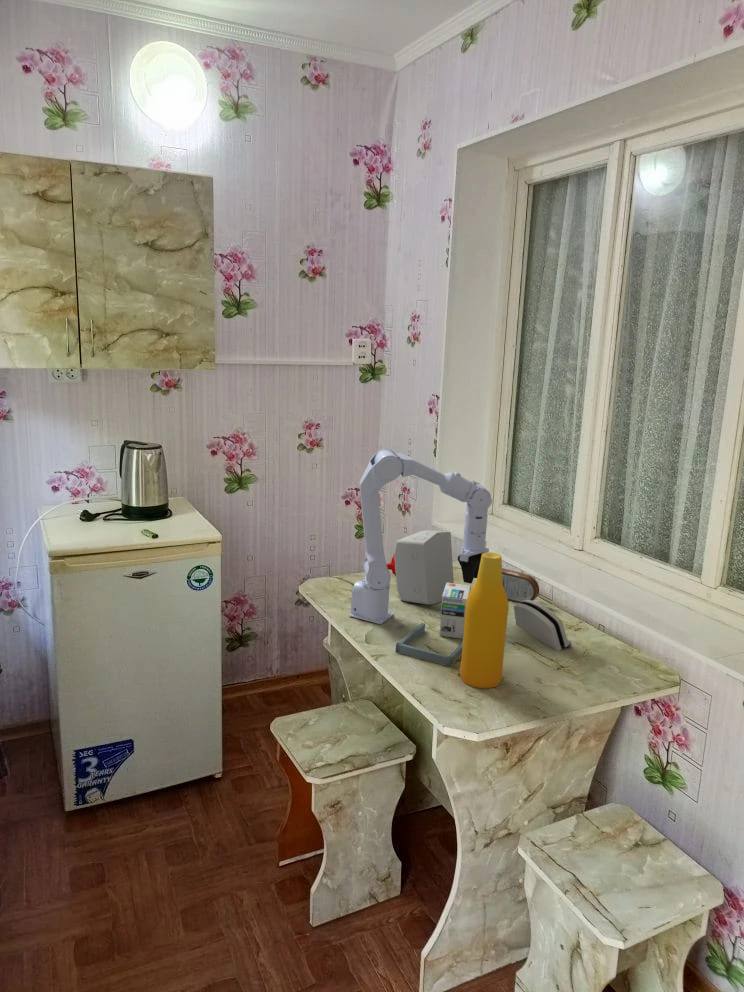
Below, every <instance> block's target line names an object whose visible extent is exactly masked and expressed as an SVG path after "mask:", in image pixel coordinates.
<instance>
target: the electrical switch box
mask: <svg viewBox="0 0 744 992" xmlns="http://www.w3.org/2000/svg"><path fill="white" fill-rule="evenodd" d="M452 547H453V545H452V533H451V531H445V530H444V531H441V530H428V529H427V530H420V531H418V532H415V533H413V534H411V535H408V536H405V537H403V538H400V539H398V540H396V542H395V547H394V552H393V556H392V557H391V560H390V561H391V562H389V563H386V564H387V568H388V570H389V571H391V572H392V574H393V575H394V576H395V580H396V581H395V582H396V591H397V593H398V595H399V599H400V601H404V602H407V603H416V604H423V605H434V604H438V603H442V595H443V592H444V589H445V586H446V583H454V582H455V581H454V578H455V577H454V567H453V566H454V565H453V563H454V562H453V561H454V560H453V549H452ZM454 584H455V583H454Z"/></svg>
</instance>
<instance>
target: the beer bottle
mask: <svg viewBox="0 0 744 992" xmlns="http://www.w3.org/2000/svg"><path fill="white" fill-rule="evenodd" d="M502 560H503V559H502V555H501V554H500V553H497V552H490V551H489V552H486V553H483V554H482V557H481V561H480V566H479V571H478V576H477V578H476V580H475V583H474V584H473V586H471V591H470V593H469V595H468V597H467V601H466V611H465V623H464V635H463V639H462V642H463V647H462V655H461V661H460V668H459V669H460V670H459V675H460V679H461V680H462V681H463V683H465V684H466V685H468V686H470V687H472V688H478V689H492V688H494V687H497V686H498V685H499V684H501V681H502V677H503V668H504V656H505V645H506V644H505V643H506V635H507V626H508V615H509V600H508V599H507V595H506V592H505V590H504V587H503V584H502V568H503V565H502V564H503V563H502Z"/></svg>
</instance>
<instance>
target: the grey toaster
mask: <svg viewBox="0 0 744 992" xmlns="http://www.w3.org/2000/svg"><path fill="white" fill-rule="evenodd" d="M513 609H514V610H513V611H514V612H513V613H514V619H515V626H516V627H518V628H519V629H521V630H522V631H524V632H525V633H527V634H529V635H530V636H532V637H534V638H535V639H537V640H538V641H540V642H541V643H543V644H545V645H547V646H548V647H550V648H551V649H554V651H556V652H560V651H562V648H563V647H564V648H567V647H568V648H571V649H573V643H572V641H571V640H569V639H568V637H567V634H566V629H565V627H564V623H563V621H562V620H561V619H560V617H558V616H557V615H556V614H555V612H553V611H551V610H550V609H549V608H548V607H547V606H545V605H543V604H541V603H539V602H537V601H534V600H533V601H531V600H524V601H521V603H518V602H516V604H515V605H513Z"/></svg>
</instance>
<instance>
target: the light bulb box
mask: <svg viewBox="0 0 744 992" xmlns="http://www.w3.org/2000/svg"><path fill="white" fill-rule="evenodd" d="M471 589H472V585H469V584H468V585H467V584H463V583H462V584H460V583H446V586H445V589H444V592H443V595H442V601H441V608H440V609H441V610H440V623H439V637H446V638H453V639H461V640H463V635H464V623H465V611H466V601H467V597H468V595H469V593H470V591H471Z"/></svg>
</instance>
